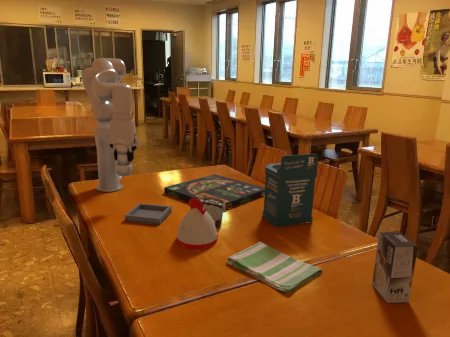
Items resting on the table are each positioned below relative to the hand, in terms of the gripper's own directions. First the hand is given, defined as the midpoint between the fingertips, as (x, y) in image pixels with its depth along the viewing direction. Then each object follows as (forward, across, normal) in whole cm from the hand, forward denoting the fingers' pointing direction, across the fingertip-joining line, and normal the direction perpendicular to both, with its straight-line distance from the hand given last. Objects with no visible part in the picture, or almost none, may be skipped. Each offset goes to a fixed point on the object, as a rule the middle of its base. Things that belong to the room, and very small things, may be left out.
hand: (123, 160), depth 154 cm
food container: (+20, +40, -9) cm, 45 cm away
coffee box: (+18, +97, -43) cm, 107 cm away
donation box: (+19, +67, +5) cm, 70 cm away
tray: (+20, +14, -8) cm, 26 cm away
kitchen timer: (+19, +38, -24) cm, 49 cm away
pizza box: (+21, +34, +27) cm, 48 cm away
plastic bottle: (+7, 0, 0) cm, 7 cm away
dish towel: (+19, +65, -37) cm, 77 cm away
